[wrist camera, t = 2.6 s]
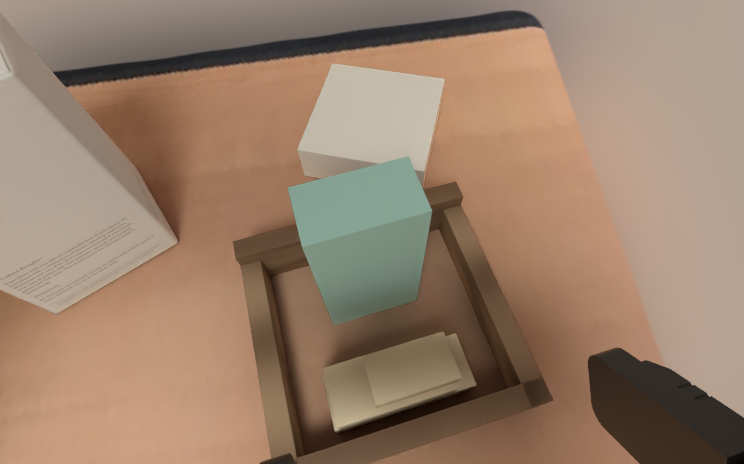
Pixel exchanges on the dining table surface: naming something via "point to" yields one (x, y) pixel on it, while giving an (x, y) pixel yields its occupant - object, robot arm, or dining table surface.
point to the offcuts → (396, 380)
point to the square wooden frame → (353, 456)
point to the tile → (371, 121)
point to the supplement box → (64, 191)
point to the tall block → (364, 237)
